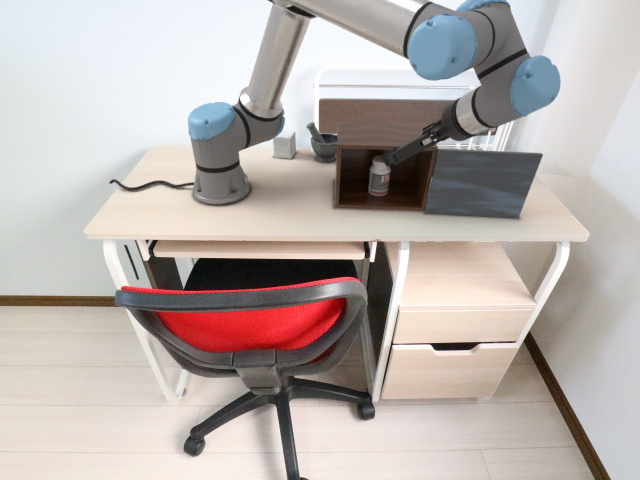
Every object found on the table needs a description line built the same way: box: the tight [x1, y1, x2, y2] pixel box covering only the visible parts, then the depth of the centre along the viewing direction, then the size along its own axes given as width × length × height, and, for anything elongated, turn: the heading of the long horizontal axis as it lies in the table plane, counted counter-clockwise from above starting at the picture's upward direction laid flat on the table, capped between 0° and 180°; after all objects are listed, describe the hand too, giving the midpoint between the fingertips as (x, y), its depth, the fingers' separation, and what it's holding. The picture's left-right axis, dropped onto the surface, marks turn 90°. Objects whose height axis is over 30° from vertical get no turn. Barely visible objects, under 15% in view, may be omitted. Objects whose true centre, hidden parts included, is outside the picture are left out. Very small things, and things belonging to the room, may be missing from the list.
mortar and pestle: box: [306, 121, 337, 163], centre depth 124 cm, size 11×9×12 cm
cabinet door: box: [424, 148, 544, 219], centre depth 98 cm, size 6×24×18 cm, turn 86°
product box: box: [272, 130, 297, 160], centre depth 128 cm, size 6×6×7 cm
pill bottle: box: [368, 155, 391, 196], centre depth 106 cm, size 6×6×10 cm
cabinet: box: [334, 120, 439, 212], centre depth 104 cm, size 16×24×18 cm, turn 88°
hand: (405, 146), depth 90 cm, fingers open, 13 cm apart
